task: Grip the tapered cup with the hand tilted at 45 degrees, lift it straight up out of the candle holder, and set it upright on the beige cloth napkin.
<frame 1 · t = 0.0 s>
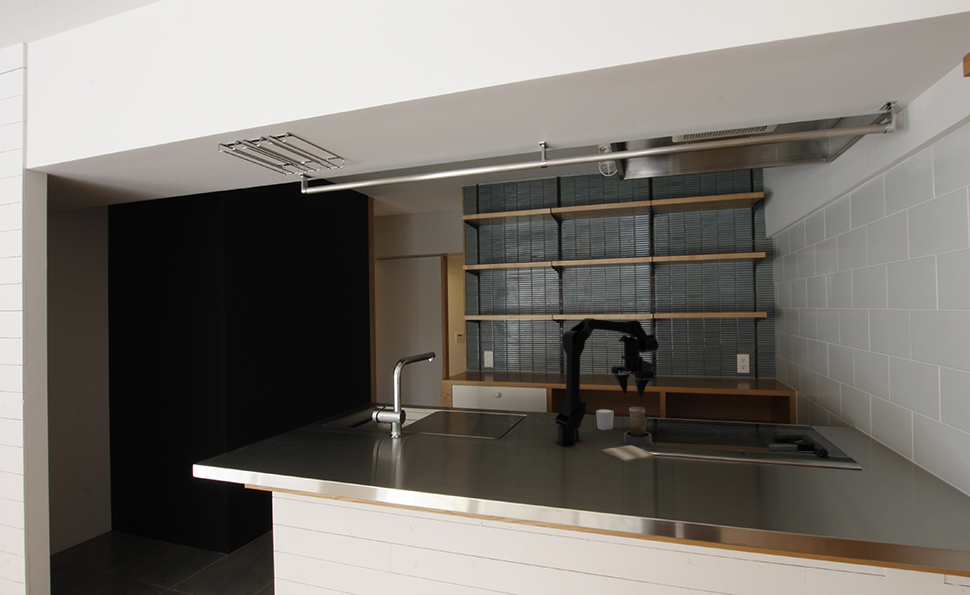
hand: (632, 395, 196), 15 cm above the counter, tool pointing down, fingers open, 9 cm apart
tapered cup: (637, 442, 181), point 1 cm above the counter, touching candle holder
beige cloth napkin: (627, 456, 168), on the counter
candle holder: (637, 445, 181), on the counter
door handle: (794, 449, 174), on the counter
shot glass: (605, 429, 206), on the counter
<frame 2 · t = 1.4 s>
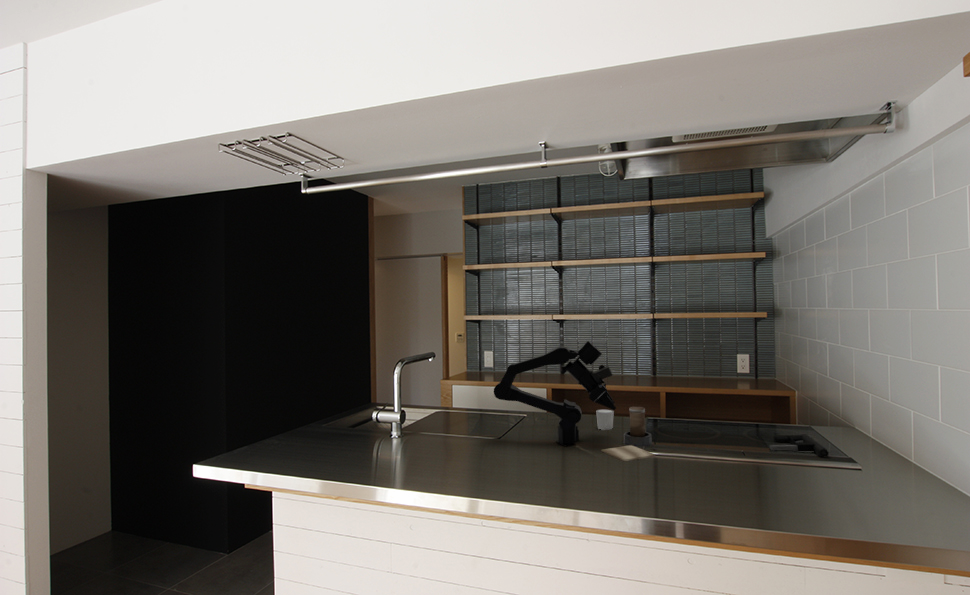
hand: (614, 406, 182), 13 cm above the counter, tool tilted 45°, fingers open, 9 cm apart
nothing on the counter moved.
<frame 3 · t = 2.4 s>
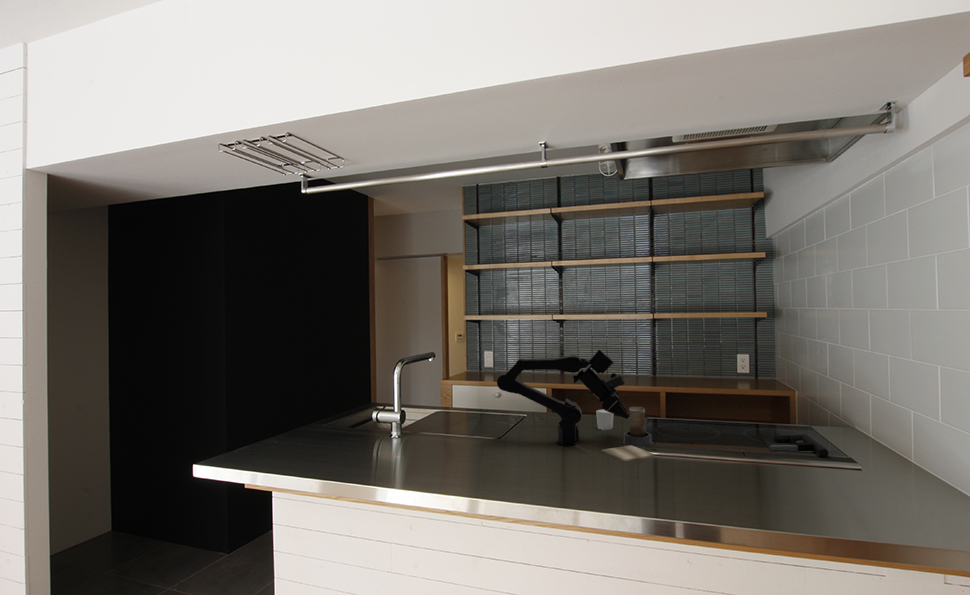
hand: (627, 414, 182), 11 cm above the counter, tool tilted 45°, fingers open, 9 cm apart
nothing on the counter moved.
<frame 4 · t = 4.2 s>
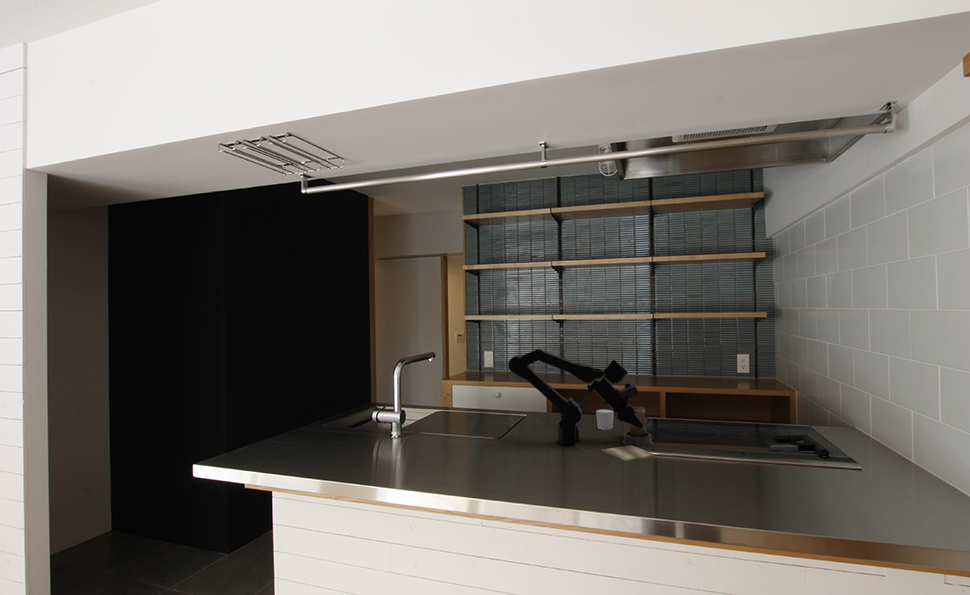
hand: (641, 425, 181), 7 cm above the counter, tool tilted 45°, fingers closed on tapered cup, 5 cm apart
tapered cup: (637, 442, 181), point 1 cm above the counter, touching gripper, candle holder
everything else where it was.
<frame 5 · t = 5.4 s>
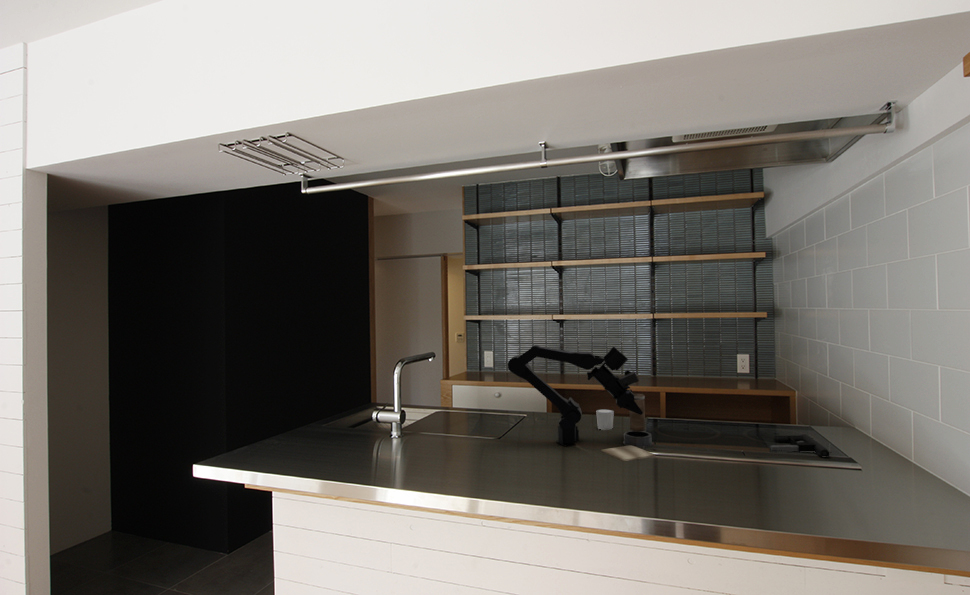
hand: (641, 412, 181), 12 cm above the counter, tool tilted 45°, fingers closed on tapered cup, 5 cm apart
tapered cup: (637, 429, 181), point 6 cm above the counter, touching gripper
everything else where it was.
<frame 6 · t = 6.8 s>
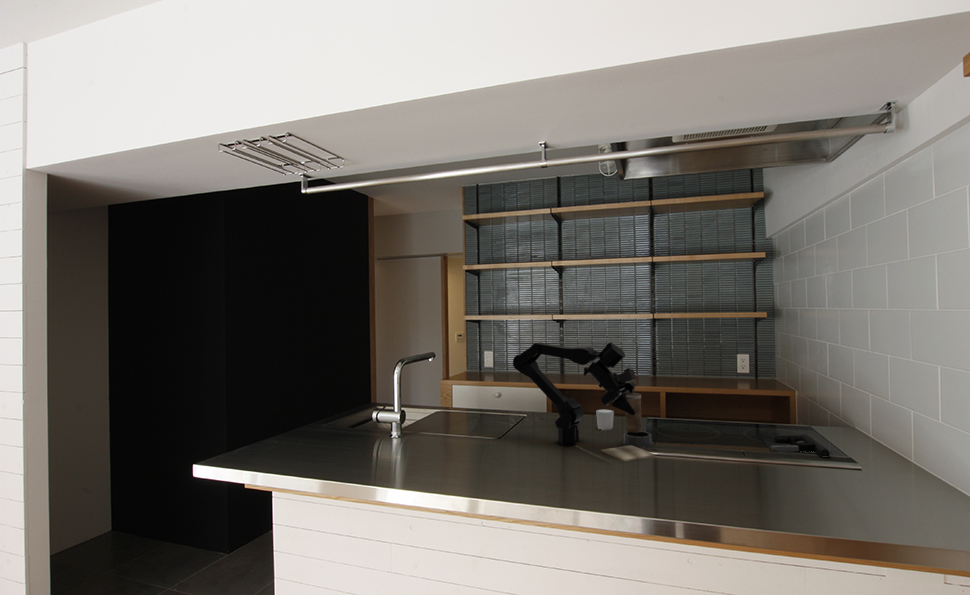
hand: (637, 412, 171), 13 cm above the counter, tool tilted 45°, fingers closed on tapered cup, 5 cm apart
tapered cup: (633, 430, 172), point 7 cm above the counter, touching gripper
everything else where it was.
when the fingers open (8 cm above the counter, at t = 8.9 s): tapered cup stays where it is, resting on beige cloth napkin.
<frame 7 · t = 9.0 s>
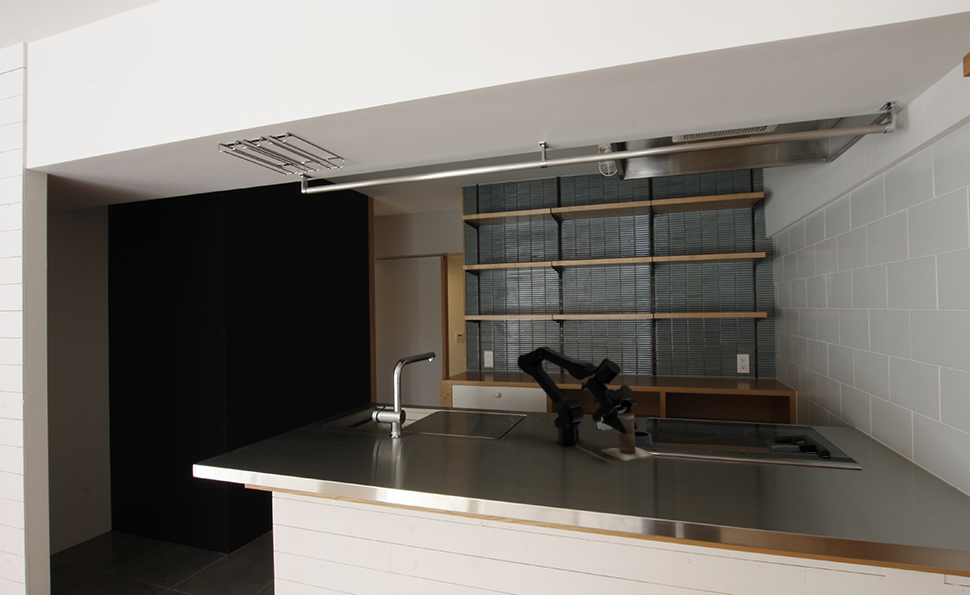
hand: (631, 431, 167), 8 cm above the counter, tool tilted 45°, fingers open, 6 cm apart
tapered cup: (627, 451, 168), point 2 cm above the counter, touching beige cloth napkin
everything else where it was.
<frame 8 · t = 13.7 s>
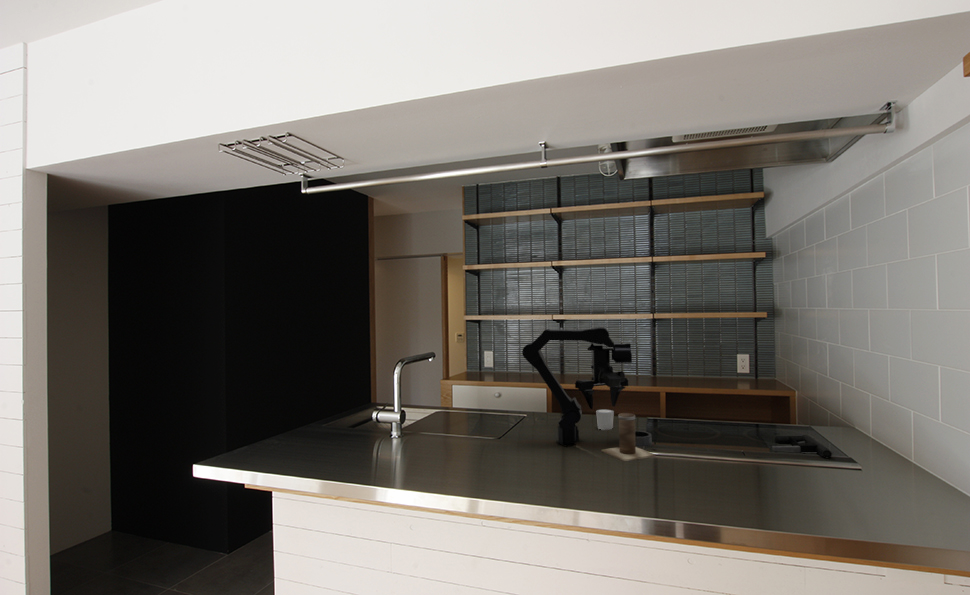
hand: (602, 407, 183), 13 cm above the counter, tool pointing down, fingers open, 9 cm apart
at the end: tapered cup inside the target area on the beige cloth napkin (0.1 cm from its centre), point 1.5 cm above the beige cloth napkin's base; tapered cup tilted 0°; the gripper is holding nothing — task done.
